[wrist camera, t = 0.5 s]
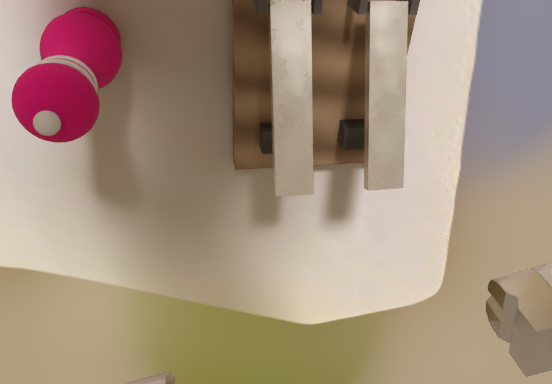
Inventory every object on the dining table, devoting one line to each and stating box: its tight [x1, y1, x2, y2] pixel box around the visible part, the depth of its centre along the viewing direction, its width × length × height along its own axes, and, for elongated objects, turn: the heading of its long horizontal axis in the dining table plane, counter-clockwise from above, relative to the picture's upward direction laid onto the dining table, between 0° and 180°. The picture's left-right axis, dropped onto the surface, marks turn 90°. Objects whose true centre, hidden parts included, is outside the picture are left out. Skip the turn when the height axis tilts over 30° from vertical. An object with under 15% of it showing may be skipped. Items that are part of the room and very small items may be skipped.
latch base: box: [233, 0, 420, 170], centre depth 52 cm, size 22×20×6 cm
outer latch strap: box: [364, 1, 408, 190], centre depth 47 cm, size 19×4×1 cm, turn 178°
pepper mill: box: [12, 7, 122, 142], centre depth 39 cm, size 7×7×20 cm
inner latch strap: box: [268, 0, 314, 196], centre depth 45 cm, size 19×4×1 cm, turn 178°
